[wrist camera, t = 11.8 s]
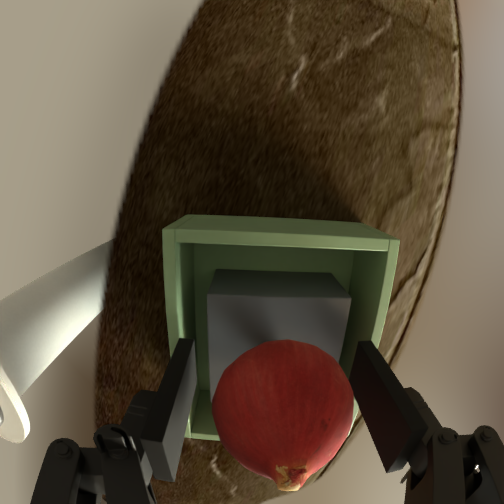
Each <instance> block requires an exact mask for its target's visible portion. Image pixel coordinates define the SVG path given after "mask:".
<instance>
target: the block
mask: <svg viewBox="0 0 504 504" xmlns="http://www.w3.org/2000/svg"><path fill="white" fill-rule="evenodd" d="M350 304H351V297H350V295H349V294H348V293H347V292H346V290H345V289H344V288H343V287H342V286H341V284H340V283H339V282H338V281H337V279H336V278H335V277H334V276H333V274H332V273H318V272H286V271H257V270H232V269H216V271H215V273H214V276H213V279H212V282H211V284H210V287H209V290H208V293H207V334H208V363H209V385H210V401H211V402H212V398H213V396H214V393H215V390H216V388H217V385H218V382H219V380H220V378H221V376H222V374H223V372H224V370H225V369H226V368H227V367H228V366H229V365H230V364H231V363H232V362H234V361H235V360H236V359H237V358H238V357H239V356H240V355H242V354H243V353H244V352H246V351H247V350H249V349H252V348H254V347H256V346H258V345H260V344H262V343H264V342H266V341H275V340H285V339H290V340H295V341H299V342H304V343H309V344H312V345H315V346H317V347H318V348H320V349H321V350H323V351H325V352H326V353H328V354H329V355H331V356H332V357H333V358H334V359H335V360H336V361H337V363H339V359H340V355H341V350H342V345H343V341H344V336H345V331H346V326H347V321H348V315H349V310H350Z"/></svg>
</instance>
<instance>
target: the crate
mask: <svg viewBox="0 0 504 504" xmlns="http://www.w3.org/2000/svg"><path fill="white" fill-rule="evenodd" d="M162 241H163V269H164V288H165V303H166V316H167V328H168V338H169V348H170V357H172V354H173V352H174V349H175V347H176V344H177V342H178V340H179V338H187V339H194V342H195V358H196V373H197V384H196V388H195V393H194V397H193V401H192V405H191V410H190V414H189V418H188V423H187V427H186V432H185V436H184V437H189V438H191V437H192V438H197V439H208V440H220V439H219V435H218V432H217V429H216V426H215V422H214V419H213V415H212V402H211V401H210V385H209V363H208V334H207V293H208V290H209V287H210V284H211V282H212V279H213V276H214V273H215V271H216V269H232V270H257V271H286V272H318V273H332V274H333V276H334V277H335V278H336V279H337V281H338V282H339V283H340V284H341V286H342V287H343V288H344V289H345V290H346V292H347V293H348V294H349V295H350V297H351V304H350V310H349V315H348V321H347V326H346V331H345V336H344V341H343V345H342V350H341V355H340V359H339V363H338V364H339V365H340V366H341V368H342V370H343V372H344V373H345V375H346V377H347V379H348V380H349V376H350V372H351V369H352V365H353V361H354V357H355V353H356V349H357V345H358V341H370V340H371V341H372V342H373V343H374V345H375V346H376V348H377V349H378V346H379V342H380V339H381V335H382V331H383V327H384V323H385V318H386V314H387V310H388V305H389V300H390V296H391V291H392V285H393V280H394V275H395V269H396V263H397V257H398V250H399V243H400V240H399V239H397V238H395V237H393V236H391V235H388V234H386V233H384V232H382V231H380V230H377V229H375V228H373V227H370V226H368V225H366V224H364V223H355V222H341V221H326V220H310V219H292V218H273V217H250V216H223V215H185V216H183V217H182V218H180V219H178V220H177V221H175V222H173V223H172V224H170V225H168V226H167V227H165V228H163V229H162ZM353 396H354V395H353ZM358 409H359V406H358V404H357V402H356V399H355V397H354V410H353V421H352V425H353V423H354V420H355V417H356V415H357V412H358ZM352 425H351V428H352ZM350 430H351V429H350ZM349 433H350V431H349ZM349 433H348V435H349ZM347 437H348V436H347Z"/></svg>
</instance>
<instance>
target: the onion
mask: <svg viewBox="0 0 504 504" xmlns="http://www.w3.org/2000/svg"><path fill="white" fill-rule="evenodd" d="M353 410H354V396H353V391H352V388H351V385H350V383H349V381H348V379H347V377H346V375H345V373H344V372H343V370H342V368H341V366H340V365H339V364H338V363H337V361H336V360H335V359H334V358H333V357H332V356H331V355H329V354H328V353H326V352H325V351H323V350H321V349H320V348H318V347H317V346H315V345H312V344H309V343H304V342H299V341H295V340H290V339H285V340H275V341H266V342H264V343H262V344H260V345H258V346H256V347H254V348H252V349H249V350H247V351H246V352H244V353H243V354H242V355H240V356H239V357H238V358H237V359H236V360H235V361H234V362H232V363H231V364H230V365H229V366H228V367H227V368H226V369H225V370H224V372H223V374H222V376H221V378H220V380H219V382H218V385H217V388H216V390H215V393H214V396H213V398H212V415H213V419H214V422H215V426H216V429H217V432H218V435H219V439H220V441H221V443H222V444H223V446H224V447H225V449H226V450H227V451H228V452H229V453H230V454H231V455H232V456H233V457H234V458H235V459H236V460H237V461H238V462H239V463H240V464H242V465H243V466H244V467H245V468H247V469H248V470H250V471H252V472H254V473H256V474H259V475H261V476H264V477H266V478H269V479H273V480H274V481H275V482H276V484H277V488H278V489H280V490H282V491H296V490H298V489H299V488H301V487H302V486H303V484H304V483H305V481H306V479H307V478H308V477H309V476H310V475H311V474H313V473H315V472H316V471H317V470H319V469H320V468H321V467H322V466H324V465H325V464H326V463H327V462H329V461H330V460H331V459H332V458H333V457H334V455H335V454H336V453H337V451H338V450H339V448H340V447H341V445H342V444H343V442H344V441H345V439H346V438H347V436H348V433H349V431H350V429H351V425H352V421H353Z"/></svg>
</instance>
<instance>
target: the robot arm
mask: <svg viewBox="0 0 504 504" xmlns="http://www.w3.org/2000/svg"><path fill="white" fill-rule="evenodd" d="M348 381H349V383H350V385H351V388H352V391H353V395H354V397H355V399H356V402H357V404H358V406H359V409H360V411H361V413H362V416H363V418H364V420H365V423H366V425H367V427H368V429H369V432H370V434H371V437H372V439H373V441H374V444H375V446H376V449H377V451H378V454H379V456H380V458H381V461H382V463H383V466H384V468H385V471H386V473H390V472H393V471H397V470H401V469H403V467H404V466H405V464H406V463H407V462H409V465H410V467H411V468H410V469H409V471H408V472H407V473H406V474H405V476H404V477H403V478H402V480H401V483H403V482H404V481H405V480H406V479H407V482H406V493H405V501H404V504H504V445H503V443H502V441H501V439H500V438H499V436H498V434H497V432H496V431H495V430H494V429H493V428H492V427H490V426H485V425H484V426H480V427H478V428H477V429H476V430H475V431H474V433H473V434H471V435H458V434H457V433H456V431H454V430H452V429H451V428H446V427H444V428H443V427H442V426H441V424H440V423H439V421H438V420H437V418H436V417H435V416H434V414H433V412H432V411H431V409H430V408H429V407H428V405H427V404H426V402H424V399H423V398H422V396H421V395H420V394H419V392H417V391H416V390H414V389H413V388H412V387H409V388H403V386H402V385H401V383H400V382H399V380H398V379H397V377H396V376H395V374H394V373H393V371H392V370H391V368H390V367H389V365H388V364H387V362H386V361H385V359H384V358H383V357H382V355H381V354H380V352H379V351H378V349H377V348H376V346H375V345H374V343H373V342H372V341H371V340H370V341H358V345H357V349H356V353H355V357H354V361H353V365H352V369H351V372H350V376H349V380H348ZM196 384H197V373H196V358H195V342H194V339H187V338H179V340H178V342H177V344H176V347H175V349H174V352H173V354H172V357H171V359H170V361H169V364H168V366H167V369H166V371H165V374H164V376H163V379H162V381H161V384H160V386H159V389H158V391H157V392H154V391H148V390H141V391H139V392H138V393H137V394H136V395H135V396H134V397H133V399H132V401H131V403H130V406H129V407H128V409H127V411H126V414H125V416H124V418H123V420H122V422H121V424H120V425H118V424H108V425H104V426H102V427H100V428H99V429H97V431H96V432H95V433H94V437H93V440H94V442H95V444H96V446H97V448H81V447H79V446H78V444H77V443H76V442H74V441H73V440H71V439H68V438H61V439H57V440H55V441H53V442H52V443H51V444H50V446H49V447H48V449H47V452H46V455H45V458H44V461H43V464H42V467H41V470H40V473H39V476H38V479H37V482H36V485H35V489H34V492H33V496H32V500H31V503H30V504H101V497H102V494H106V500H107V504H157V502H156V499H155V495H154V492H153V489H152V485H151V483H150V479H151V476H152V473H153V476H154V478H155V479H158V480H164V481H170V482H175V477H176V472H177V468H178V463H179V458H180V454H181V449H182V445H183V440H184V436H185V432H186V427H187V423H188V418H189V414H190V410H191V405H192V401H193V397H194V393H195V388H196ZM3 422H4V415H3V412H2V409H1V407H0V426H1V425H2V424H3ZM477 467H479V469H480V472H479V473H478V472H477V470H476V468H477Z"/></svg>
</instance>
